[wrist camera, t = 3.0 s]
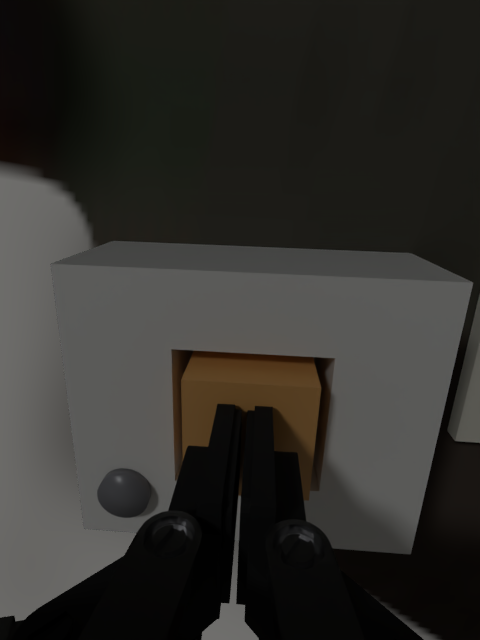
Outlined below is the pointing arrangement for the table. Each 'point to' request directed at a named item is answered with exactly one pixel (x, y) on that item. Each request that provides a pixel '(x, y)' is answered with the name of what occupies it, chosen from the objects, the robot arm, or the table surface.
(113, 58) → the table surface
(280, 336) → the box
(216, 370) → the button
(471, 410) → the pad
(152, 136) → the table surface
